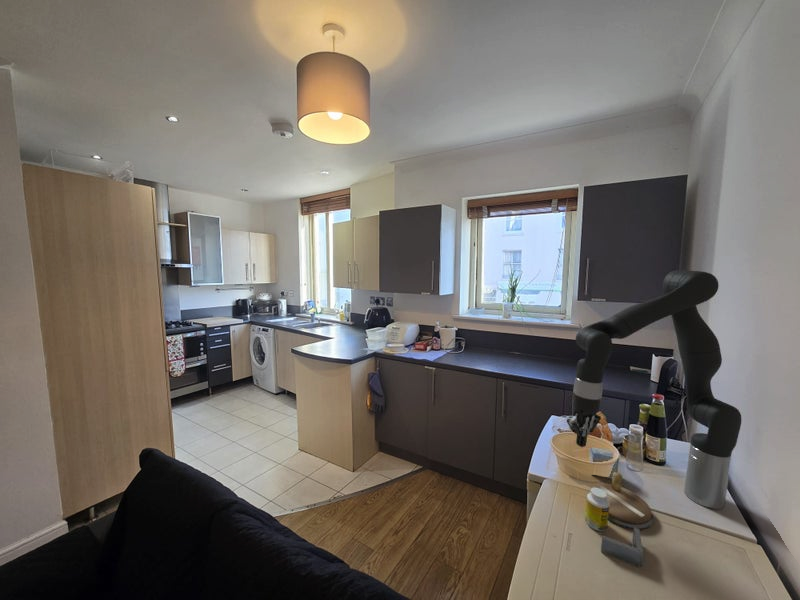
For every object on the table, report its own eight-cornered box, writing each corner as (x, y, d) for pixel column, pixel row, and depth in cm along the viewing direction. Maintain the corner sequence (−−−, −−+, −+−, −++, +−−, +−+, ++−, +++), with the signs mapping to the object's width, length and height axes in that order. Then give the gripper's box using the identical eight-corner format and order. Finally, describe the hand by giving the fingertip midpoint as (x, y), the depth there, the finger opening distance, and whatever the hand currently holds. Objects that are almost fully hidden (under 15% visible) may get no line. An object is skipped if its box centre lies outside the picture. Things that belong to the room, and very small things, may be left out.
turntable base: (617, 485, 107) (617, 483, 107) (666, 524, 92) (667, 521, 92) (577, 494, 104) (578, 491, 103) (622, 535, 88) (622, 532, 88)
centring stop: (634, 539, 87) (636, 526, 86) (659, 561, 80) (660, 547, 80) (598, 549, 84) (599, 535, 83) (620, 572, 78) (622, 558, 77)
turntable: (580, 494, 102) (582, 476, 101) (612, 482, 107) (613, 465, 106) (629, 531, 88) (631, 511, 87) (662, 515, 93) (664, 496, 93)
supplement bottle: (601, 535, 88) (604, 502, 87) (581, 521, 93) (583, 490, 91) (610, 526, 91) (614, 494, 90) (590, 513, 96) (593, 482, 94)
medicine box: (613, 472, 114) (615, 450, 113) (617, 481, 110) (619, 458, 109) (588, 468, 116) (590, 446, 115) (591, 475, 112) (593, 453, 111)
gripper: (583, 401, 91) (577, 456, 93) (613, 395, 96) (606, 447, 99) (561, 391, 98) (555, 443, 100) (590, 385, 103) (584, 435, 105)
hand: (580, 445), depth 99 cm, fingers closed
